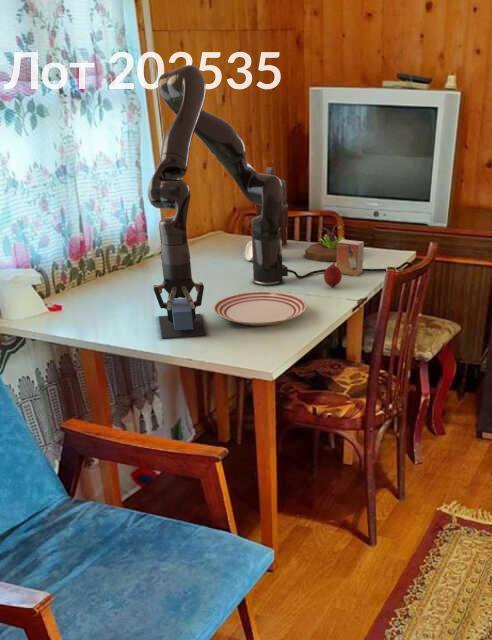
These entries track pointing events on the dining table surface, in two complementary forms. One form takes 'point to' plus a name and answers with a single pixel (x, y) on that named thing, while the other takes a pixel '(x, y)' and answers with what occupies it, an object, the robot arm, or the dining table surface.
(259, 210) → the toy vending machine
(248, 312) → the dinner plate
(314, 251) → the plant
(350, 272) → the small box
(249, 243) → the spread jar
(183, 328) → the blue block
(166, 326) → the mat
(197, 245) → the dining table surface
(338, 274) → the onion
